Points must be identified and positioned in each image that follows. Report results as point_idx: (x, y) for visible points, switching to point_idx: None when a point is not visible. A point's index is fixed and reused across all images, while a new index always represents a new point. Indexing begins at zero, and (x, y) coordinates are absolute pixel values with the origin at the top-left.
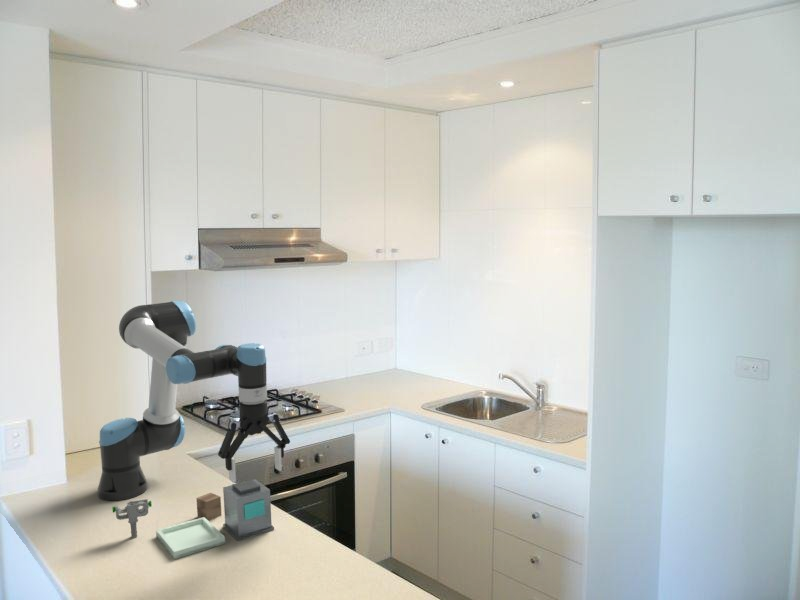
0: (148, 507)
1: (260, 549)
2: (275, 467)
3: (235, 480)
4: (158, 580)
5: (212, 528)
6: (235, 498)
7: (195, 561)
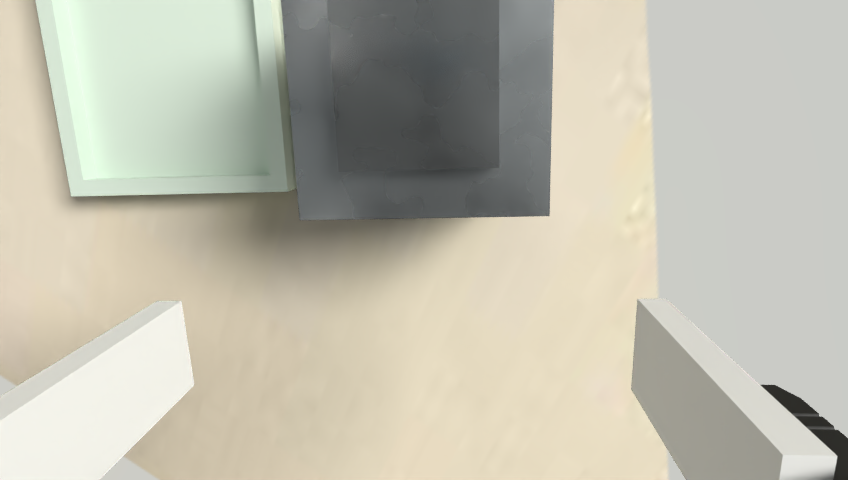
0: None
1: (403, 319)
2: (639, 315)
3: (184, 391)
4: (25, 309)
5: (262, 69)
6: (299, 197)
7: (161, 257)
